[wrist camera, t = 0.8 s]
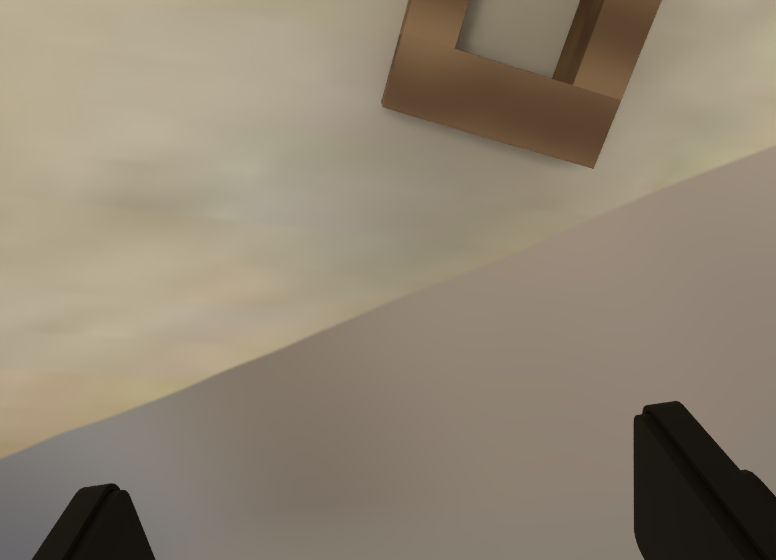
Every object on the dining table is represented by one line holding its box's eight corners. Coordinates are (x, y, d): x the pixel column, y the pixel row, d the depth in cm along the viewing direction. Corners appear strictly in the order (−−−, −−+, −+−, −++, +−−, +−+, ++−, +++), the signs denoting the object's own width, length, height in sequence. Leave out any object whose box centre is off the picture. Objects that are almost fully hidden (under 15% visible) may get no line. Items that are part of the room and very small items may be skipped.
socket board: (455, -175, 30) (467, -209, 26) (669, -99, 31) (709, -120, 28) (381, 101, 35) (382, 107, 31) (570, 157, 36) (593, 168, 32)
